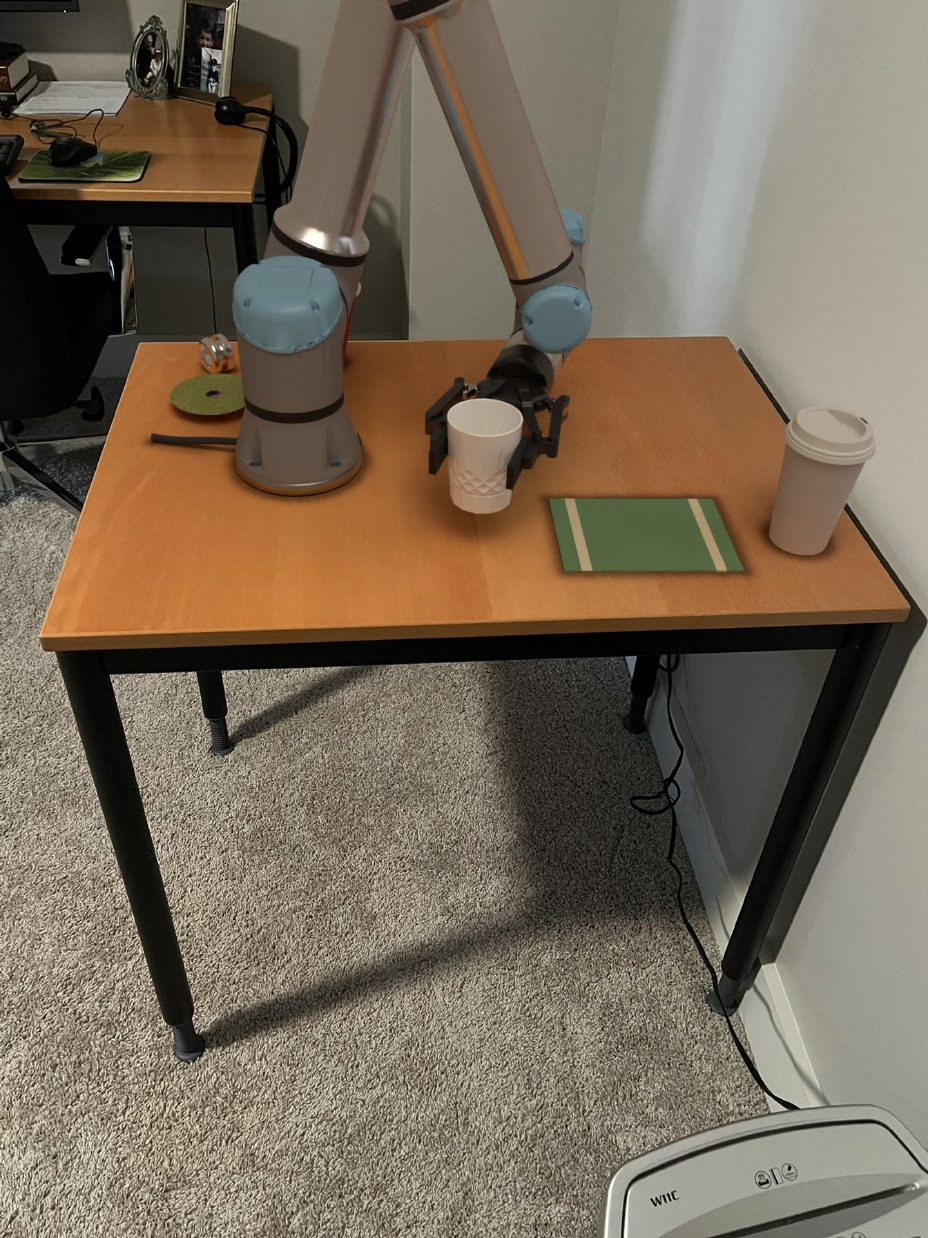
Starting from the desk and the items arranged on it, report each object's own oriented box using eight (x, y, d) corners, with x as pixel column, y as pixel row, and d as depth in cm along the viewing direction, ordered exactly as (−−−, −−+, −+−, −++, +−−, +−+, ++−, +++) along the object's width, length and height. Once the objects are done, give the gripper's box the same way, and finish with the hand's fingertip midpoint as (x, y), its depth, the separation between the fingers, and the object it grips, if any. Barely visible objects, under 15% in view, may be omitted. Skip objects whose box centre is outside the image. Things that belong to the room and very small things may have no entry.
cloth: (564, 573, 108) (564, 570, 108) (548, 501, 119) (548, 498, 118) (743, 572, 109) (744, 569, 109) (711, 501, 120) (712, 498, 120)
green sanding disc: (258, 425, 129) (257, 411, 127) (169, 429, 127) (167, 415, 126) (257, 384, 137) (256, 371, 136) (174, 387, 135) (171, 374, 134)
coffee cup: (846, 568, 110) (889, 451, 101) (759, 559, 111) (794, 442, 101) (832, 519, 118) (871, 406, 108) (751, 511, 118) (783, 397, 109)
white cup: (465, 524, 105) (469, 442, 99) (433, 487, 110) (434, 407, 104) (529, 507, 108) (537, 426, 101) (494, 471, 113) (499, 392, 107)
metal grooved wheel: (235, 374, 139) (232, 341, 135) (217, 380, 137) (212, 346, 134) (217, 361, 141) (213, 328, 138) (198, 367, 140) (194, 333, 137)
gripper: (604, 416, 119) (564, 520, 102) (441, 387, 123) (377, 483, 106) (613, 357, 114) (572, 457, 97) (443, 330, 118) (375, 421, 101)
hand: (470, 470), depth 102 cm, fingers closed on white cup, 8 cm apart
